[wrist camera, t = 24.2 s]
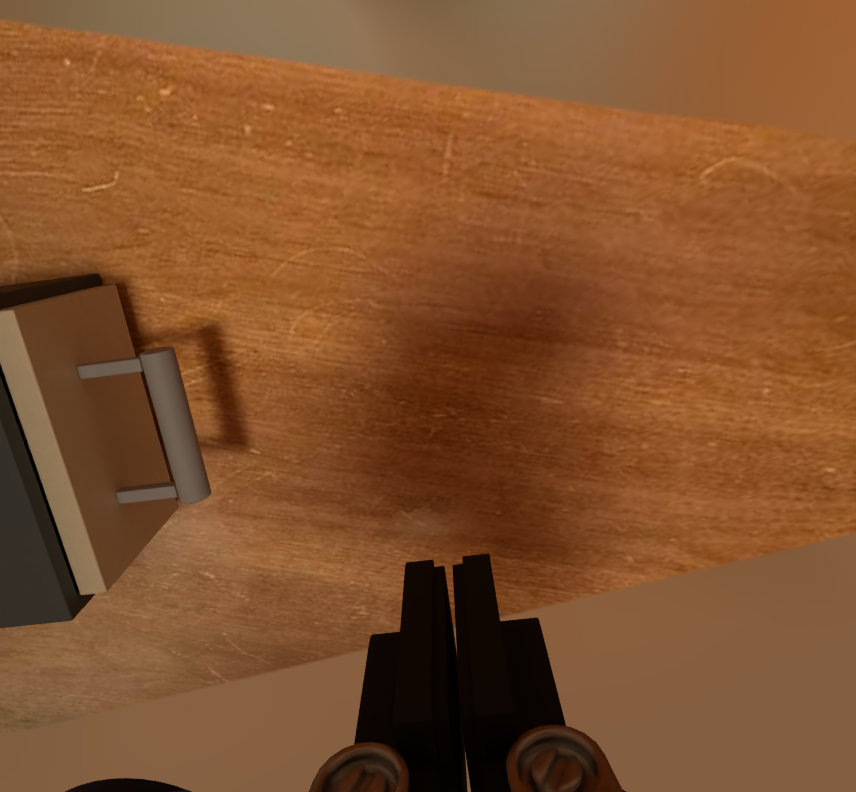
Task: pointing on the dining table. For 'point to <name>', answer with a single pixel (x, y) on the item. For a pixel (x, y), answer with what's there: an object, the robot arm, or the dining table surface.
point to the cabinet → (31, 506)
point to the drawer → (99, 428)
